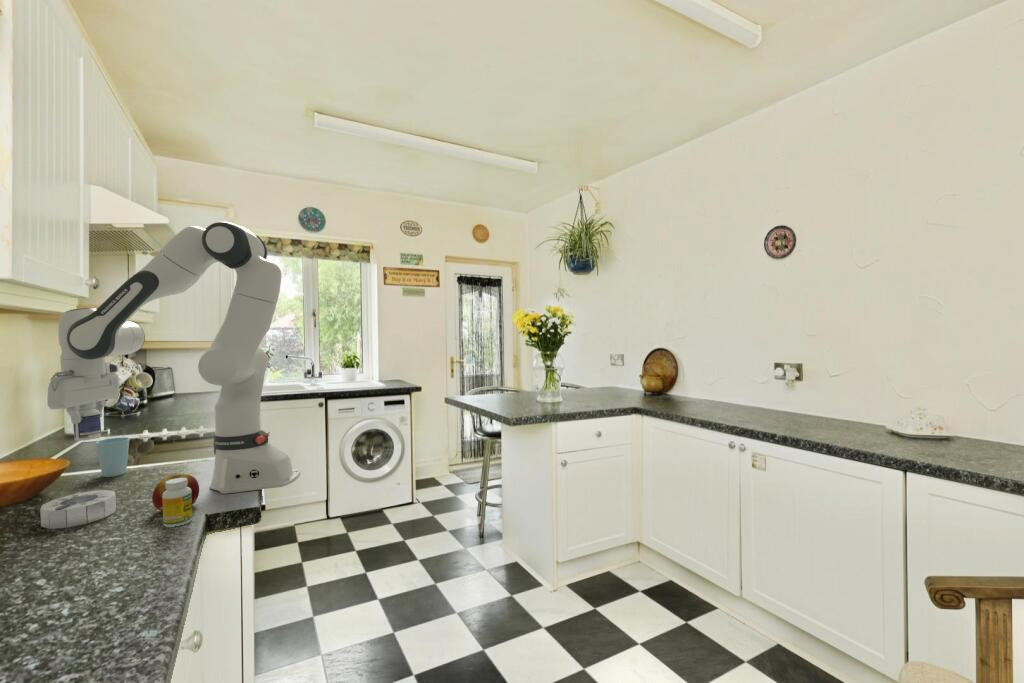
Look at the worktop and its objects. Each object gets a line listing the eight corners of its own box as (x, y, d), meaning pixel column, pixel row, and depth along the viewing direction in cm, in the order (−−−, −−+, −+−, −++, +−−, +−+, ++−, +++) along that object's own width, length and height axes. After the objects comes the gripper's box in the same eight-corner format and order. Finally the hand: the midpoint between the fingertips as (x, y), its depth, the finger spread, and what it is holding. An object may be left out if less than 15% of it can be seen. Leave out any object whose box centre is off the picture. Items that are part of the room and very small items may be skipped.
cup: (124, 476, 138) (122, 441, 137) (91, 479, 135) (90, 444, 135) (135, 469, 145) (133, 436, 144) (105, 472, 142) (103, 438, 142)
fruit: (183, 516, 107) (181, 482, 107) (142, 518, 106) (141, 483, 106) (208, 501, 116) (206, 469, 116) (170, 502, 116) (169, 470, 116)
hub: (128, 504, 115) (127, 487, 114) (90, 526, 102) (89, 506, 102) (71, 508, 113) (70, 491, 113) (25, 530, 100) (24, 511, 100)
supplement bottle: (169, 519, 105) (168, 477, 105) (196, 516, 107) (195, 475, 106) (158, 529, 100) (156, 485, 100) (187, 526, 101) (185, 482, 101)
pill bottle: (106, 436, 127) (104, 401, 126) (87, 441, 121) (84, 404, 121) (89, 436, 127) (87, 401, 127) (68, 441, 122) (66, 404, 122)
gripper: (65, 372, 114) (69, 427, 114) (122, 365, 134) (125, 412, 135) (36, 373, 113) (40, 429, 113) (98, 366, 133) (101, 414, 134)
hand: (87, 420), depth 124 cm, fingers closed on pill bottle, 5 cm apart
